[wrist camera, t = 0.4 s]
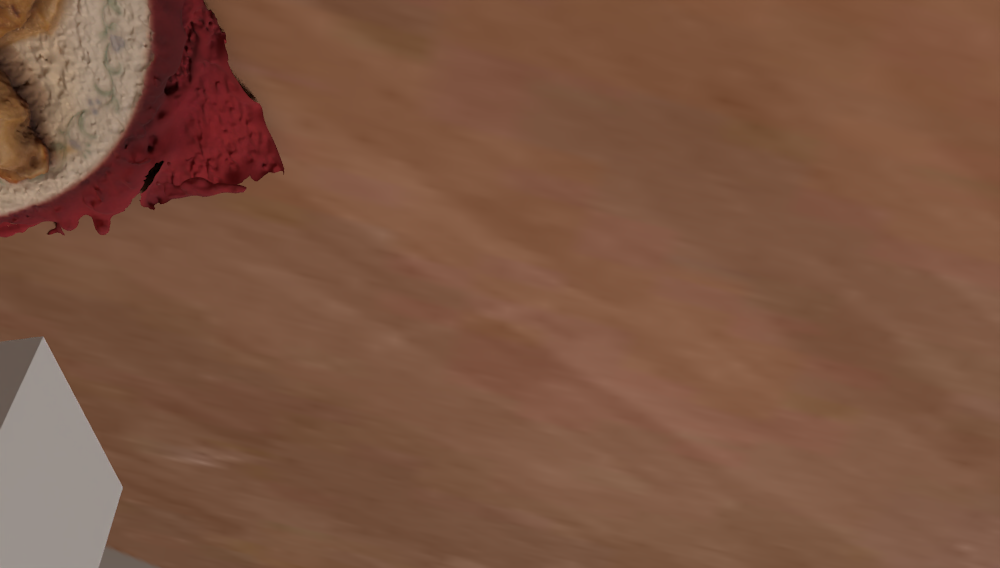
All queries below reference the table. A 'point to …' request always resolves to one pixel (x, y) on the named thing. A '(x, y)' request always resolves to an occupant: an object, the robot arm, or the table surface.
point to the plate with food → (118, 110)
